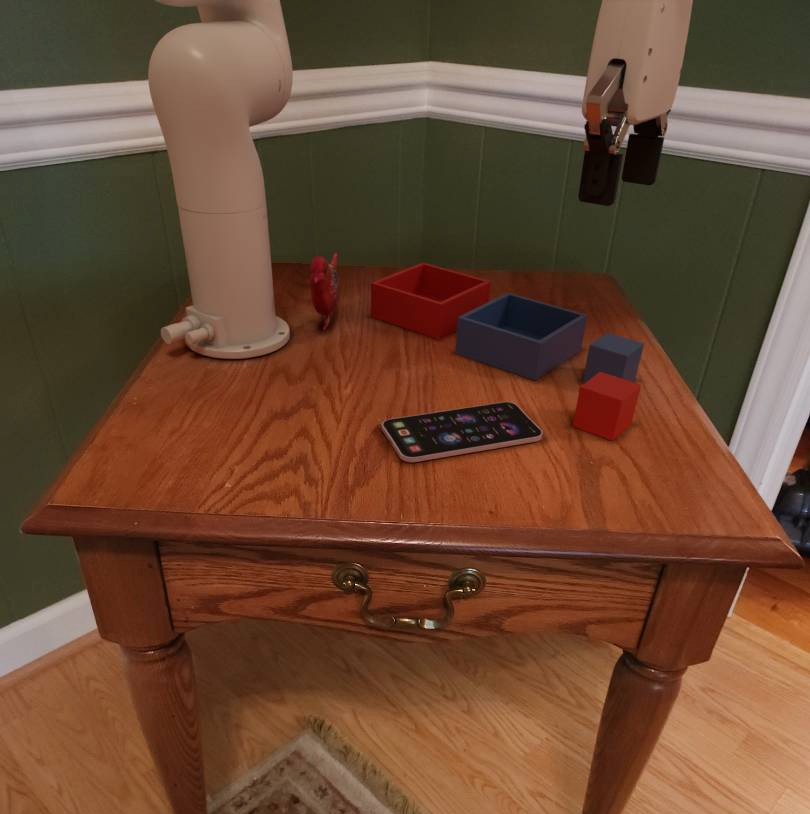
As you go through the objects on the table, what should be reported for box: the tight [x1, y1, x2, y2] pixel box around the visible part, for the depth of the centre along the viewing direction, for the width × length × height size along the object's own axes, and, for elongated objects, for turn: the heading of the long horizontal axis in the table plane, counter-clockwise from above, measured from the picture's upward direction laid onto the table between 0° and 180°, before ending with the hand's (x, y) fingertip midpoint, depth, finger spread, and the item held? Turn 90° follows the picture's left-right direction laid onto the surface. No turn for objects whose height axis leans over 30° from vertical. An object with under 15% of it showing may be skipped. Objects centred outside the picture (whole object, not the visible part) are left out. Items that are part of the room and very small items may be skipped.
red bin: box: [370, 262, 492, 340], centre depth 96 cm, size 11×11×4 cm
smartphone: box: [381, 401, 544, 463], centre depth 72 cm, size 8×1×15 cm
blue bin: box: [454, 292, 589, 382], centre depth 87 cm, size 11×11×4 cm
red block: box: [572, 372, 642, 442], centre depth 74 cm, size 4×4×4 cm
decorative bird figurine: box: [309, 250, 339, 332], centre depth 92 cm, size 3×18×10 cm, turn 177°
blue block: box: [582, 332, 645, 383], centre depth 82 cm, size 4×4×4 cm
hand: (617, 192), depth 66 cm, fingers open, 9 cm apart
